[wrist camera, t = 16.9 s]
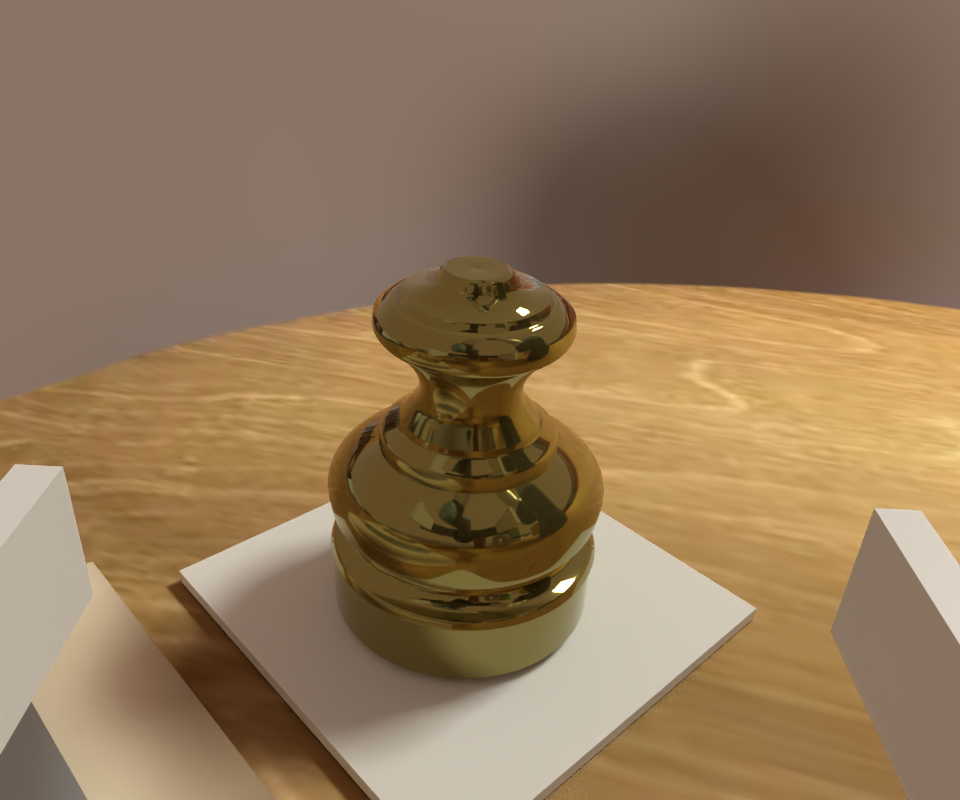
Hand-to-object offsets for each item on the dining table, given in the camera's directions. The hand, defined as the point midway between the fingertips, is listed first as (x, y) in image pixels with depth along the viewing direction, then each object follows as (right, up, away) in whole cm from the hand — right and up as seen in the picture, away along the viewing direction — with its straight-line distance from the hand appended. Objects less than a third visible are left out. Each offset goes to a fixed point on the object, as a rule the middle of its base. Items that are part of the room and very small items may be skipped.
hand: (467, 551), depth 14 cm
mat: (0, -3, +11) cm, 12 cm away
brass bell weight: (0, -3, +11) cm, 11 cm away
